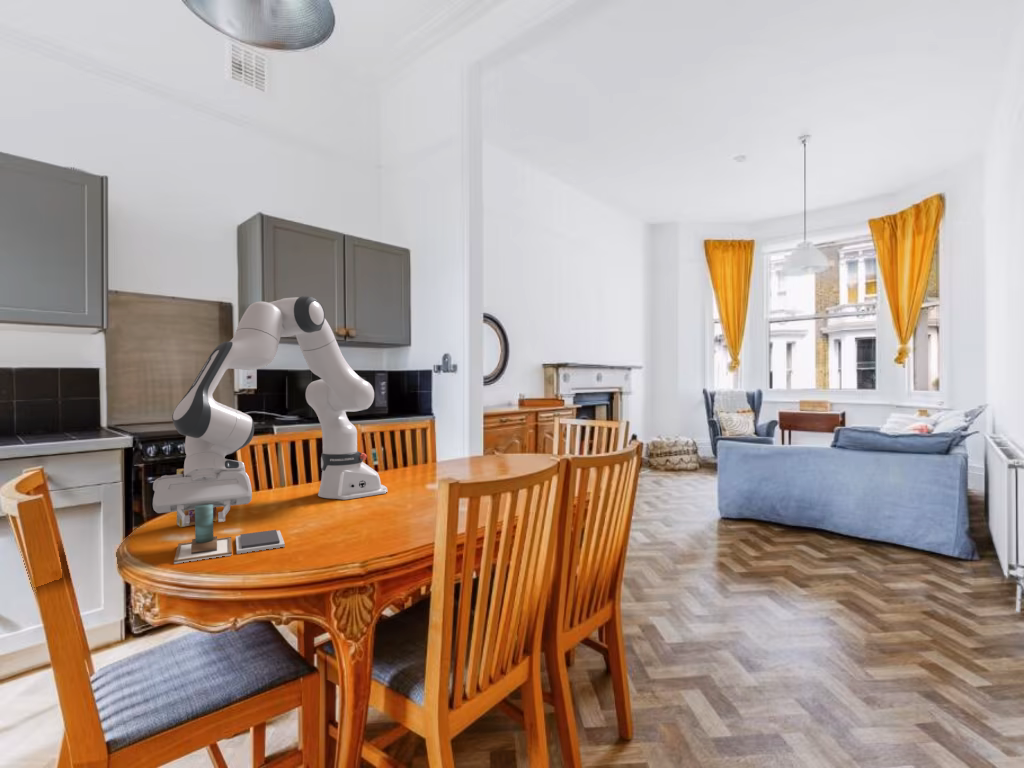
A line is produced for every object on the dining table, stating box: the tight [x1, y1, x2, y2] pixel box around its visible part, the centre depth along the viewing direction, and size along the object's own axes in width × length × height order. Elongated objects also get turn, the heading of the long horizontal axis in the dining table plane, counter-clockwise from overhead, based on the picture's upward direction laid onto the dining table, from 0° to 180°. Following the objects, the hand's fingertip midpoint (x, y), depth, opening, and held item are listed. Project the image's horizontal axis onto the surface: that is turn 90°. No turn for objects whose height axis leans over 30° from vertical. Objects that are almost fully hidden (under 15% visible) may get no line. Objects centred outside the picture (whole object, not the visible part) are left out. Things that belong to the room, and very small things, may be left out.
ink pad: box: [235, 529, 286, 555], centre depth 128 cm, size 10×12×1 cm
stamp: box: [191, 504, 218, 554], centre depth 123 cm, size 5×5×10 cm
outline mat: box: [173, 536, 233, 565], centre depth 123 cm, size 11×13×1 cm
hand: (204, 522), depth 122 cm, fingers open, 6 cm apart
